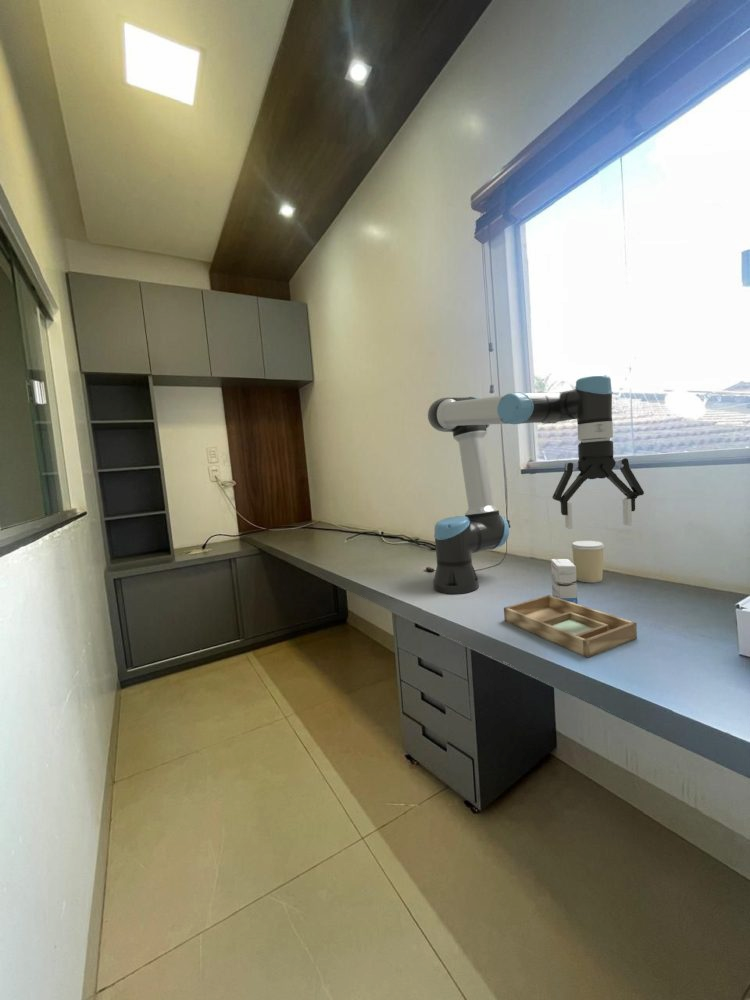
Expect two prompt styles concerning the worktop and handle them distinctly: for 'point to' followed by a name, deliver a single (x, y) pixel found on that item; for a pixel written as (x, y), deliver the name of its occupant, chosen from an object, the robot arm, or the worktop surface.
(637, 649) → the worktop surface
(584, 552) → the coffee cup
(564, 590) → the ink box
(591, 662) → the worktop surface
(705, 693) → the worktop surface
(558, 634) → the walled box
